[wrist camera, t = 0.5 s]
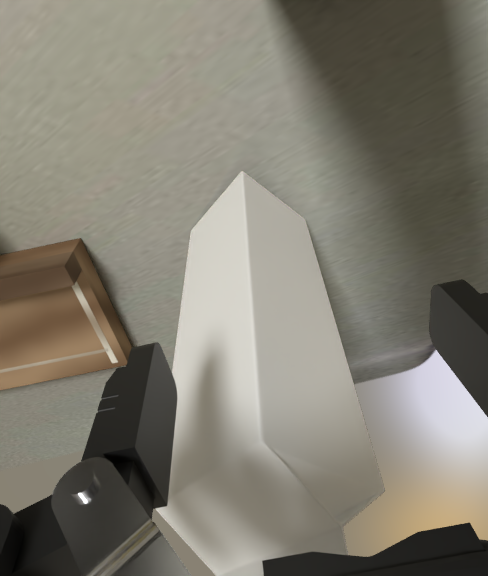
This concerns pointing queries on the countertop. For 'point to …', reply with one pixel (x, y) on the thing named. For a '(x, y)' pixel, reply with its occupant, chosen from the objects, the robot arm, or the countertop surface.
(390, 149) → the countertop surface
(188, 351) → the milk
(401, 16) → the countertop surface
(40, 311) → the board
